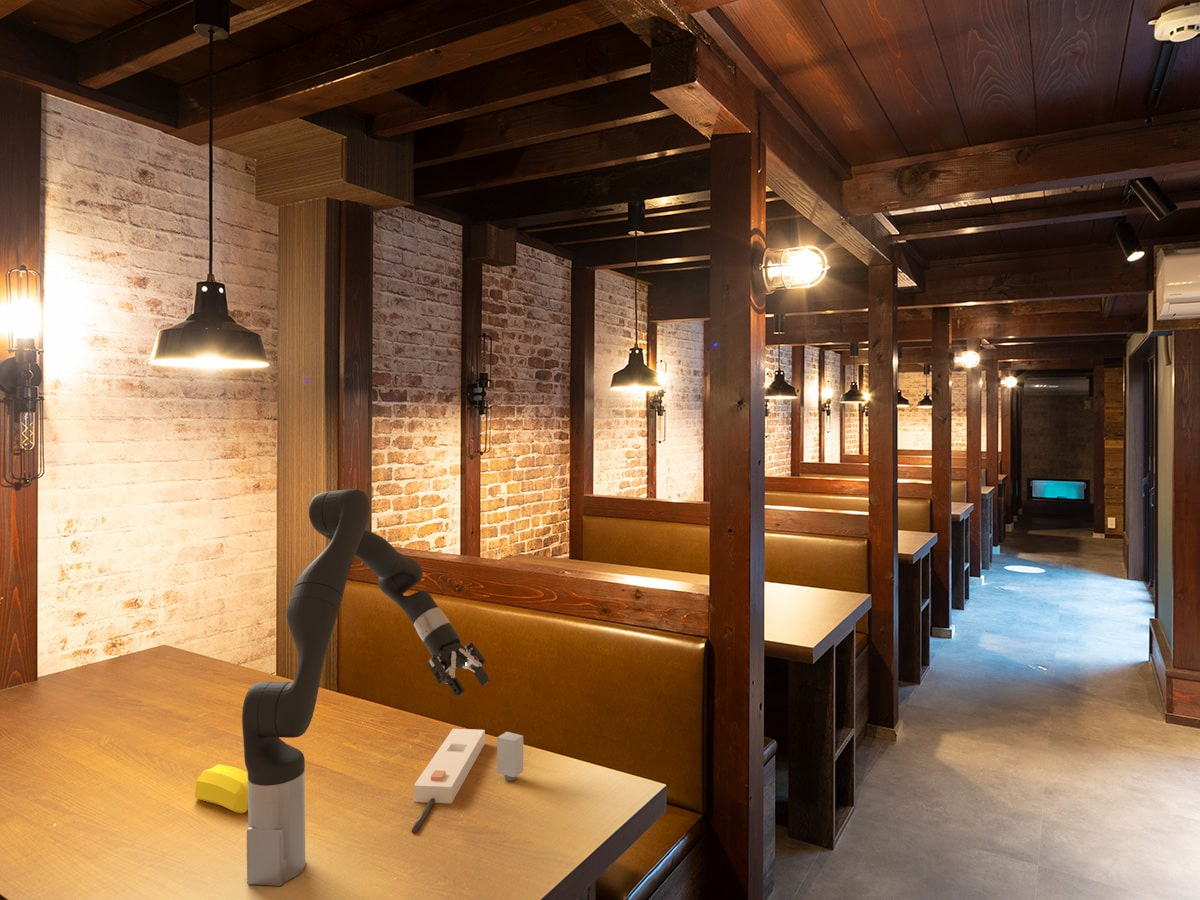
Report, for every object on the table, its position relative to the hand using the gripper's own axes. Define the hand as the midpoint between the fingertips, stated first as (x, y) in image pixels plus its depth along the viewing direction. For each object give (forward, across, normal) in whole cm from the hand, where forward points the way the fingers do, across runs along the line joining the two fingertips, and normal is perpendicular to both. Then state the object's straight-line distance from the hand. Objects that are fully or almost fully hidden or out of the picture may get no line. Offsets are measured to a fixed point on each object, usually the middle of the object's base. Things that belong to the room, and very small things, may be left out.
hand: (474, 688), depth 174 cm
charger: (+20, 0, +6) cm, 21 cm away
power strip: (+12, -9, +14) cm, 20 cm away
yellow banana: (-10, -38, +37) cm, 54 cm away
